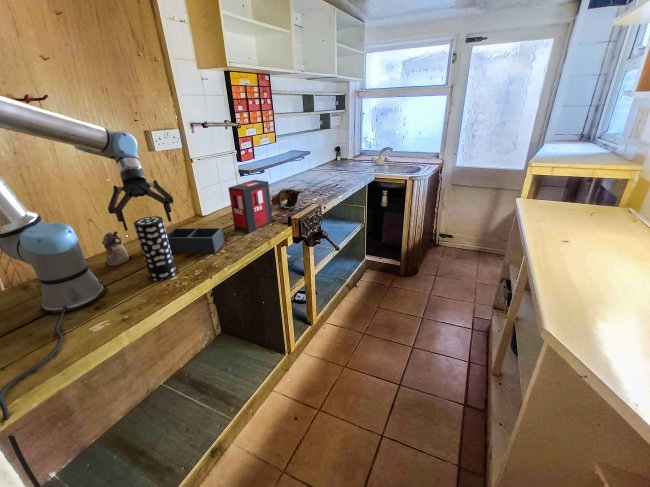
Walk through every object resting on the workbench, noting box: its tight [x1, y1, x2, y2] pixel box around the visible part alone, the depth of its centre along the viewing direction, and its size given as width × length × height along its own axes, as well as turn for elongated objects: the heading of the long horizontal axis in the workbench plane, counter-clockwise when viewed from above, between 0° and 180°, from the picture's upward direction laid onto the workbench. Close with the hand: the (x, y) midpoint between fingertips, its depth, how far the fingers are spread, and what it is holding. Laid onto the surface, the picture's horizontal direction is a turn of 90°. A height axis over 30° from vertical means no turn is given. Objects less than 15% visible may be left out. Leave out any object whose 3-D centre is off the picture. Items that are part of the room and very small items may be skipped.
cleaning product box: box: [228, 179, 273, 234], centre depth 146 cm, size 16×9×20 cm, turn 149°
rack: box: [166, 227, 225, 254], centre depth 127 cm, size 11×20×7 cm, turn 87°
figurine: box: [101, 230, 130, 267], centre depth 117 cm, size 7×7×12 cm
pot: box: [271, 187, 303, 209], centre depth 177 cm, size 17×11×18 cm
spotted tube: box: [133, 215, 177, 282], centre depth 105 cm, size 8×8×20 cm
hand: (148, 224), depth 107 cm, fingers open, 13 cm apart
